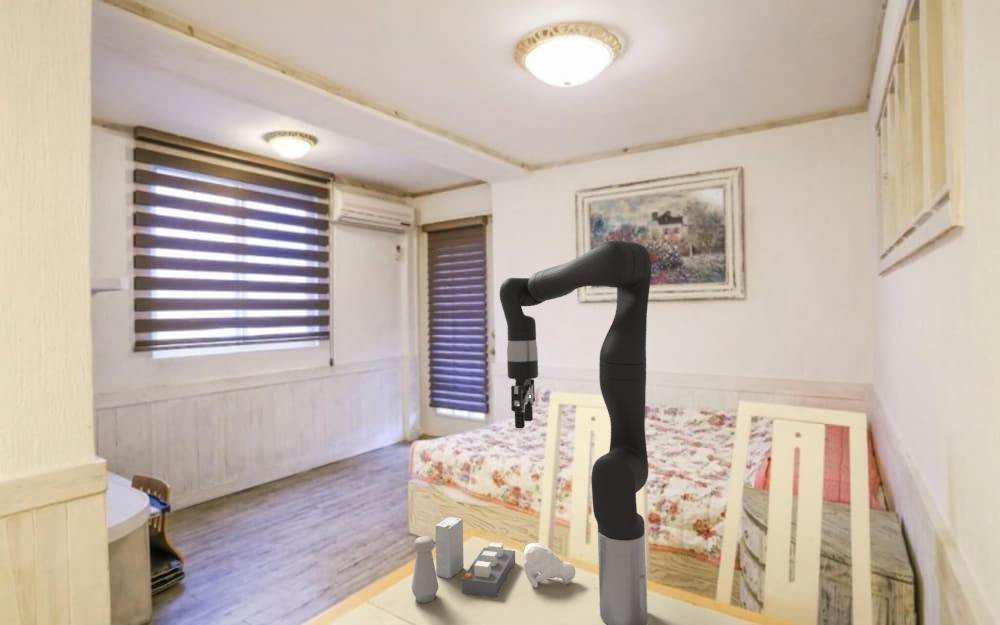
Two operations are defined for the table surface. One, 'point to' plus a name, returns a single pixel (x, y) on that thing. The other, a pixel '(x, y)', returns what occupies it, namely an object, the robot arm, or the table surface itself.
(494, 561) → the block
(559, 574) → the whiskered white figurine
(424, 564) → the salt shaker
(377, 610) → the table surface
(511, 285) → the robot arm
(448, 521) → the skincare box
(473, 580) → the panel
